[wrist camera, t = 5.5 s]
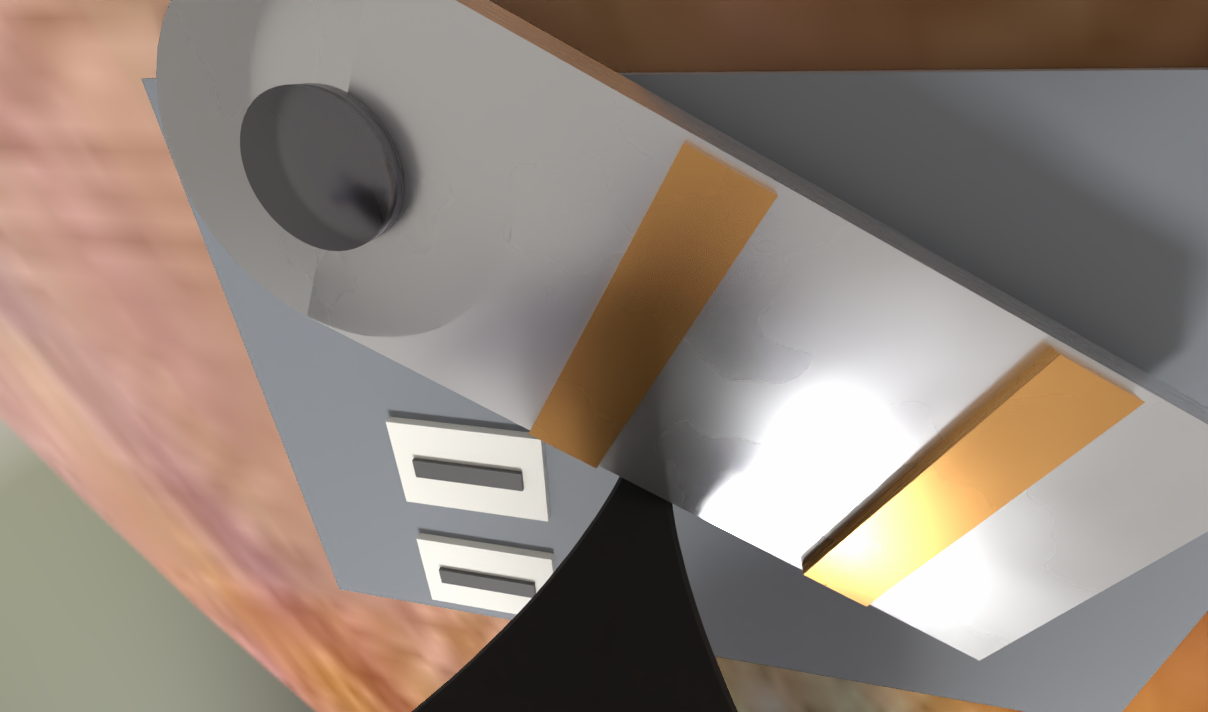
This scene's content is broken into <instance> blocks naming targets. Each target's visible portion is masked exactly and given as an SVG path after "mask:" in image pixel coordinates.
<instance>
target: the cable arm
mask: <svg viewBox="0 0 1208 712" xmlns="http://www.w3.org/2000/svg"><path fill="white" fill-rule="evenodd" d="M156 79H157V95H158V103H159V109H160V115H161V121H162V126H163V129H164V133H165V137H166V140H167V144H168V147H169V151H170V153H171V156H172V159H173V161H174V164H175V167H176V169H177V172H178V174H179V177H180V179H181V181H182V183H183V185H184V187H185V189H186V191H187V193H188V195H189V197H190V199H191V201H192V202H193V204H194V206H195V207H196V209H197V211H198V212H199V214H200V216H201V217H202V219H203V221H204V222H205V223H206V225H207V226H208V228H209V229H210V230H211V232H212V233H213V235H214V236H215V237H216V239H217V240H218V242H219V243H220V244H221V245H222V246H223V247H224V249H225V250H226V251H227V252H228V253H229V254H230V256H231V257H232V258H233V259H234V260H235V261H236V262H237V263H238V264H239V265H240V266H241V267H242V268H243V269H244V270H245V271H246V272H247V273H248V274H249V275H250V276H251V277H252V278H253V279H254V280H255V281H257V282H258V283H259V284H260V285H261V286H263V287H264V288H265V289H266V290H267V291H268V292H270V293H271V294H273V295H274V296H275V297H277V298H278V299H280V300H281V301H283V302H284V303H285V304H287V305H288V306H290V307H292V308H294V309H295V310H297V311H299V312H301V313H302V314H304V315H306V316H308V317H310V318H311V319H313V320H315V321H317V322H319V323H321V324H323V325H325V326H327V327H329V328H331V329H333V330H335V331H337V332H339V333H341V334H343V335H345V336H347V337H349V338H351V339H352V340H354V341H356V342H358V343H360V344H362V345H364V346H366V347H368V348H370V349H372V350H374V351H376V352H378V353H380V354H382V355H384V356H386V357H388V358H390V359H392V360H393V361H395V362H397V363H399V364H401V365H403V366H405V367H407V368H409V369H411V370H413V371H415V372H417V373H419V374H421V375H423V376H425V377H427V378H429V379H431V380H433V381H434V382H436V383H438V384H440V385H442V386H444V387H446V388H448V389H450V390H452V391H454V392H456V393H458V394H460V395H462V396H464V397H466V398H468V399H470V400H472V401H473V402H475V403H477V404H479V405H481V406H483V407H485V408H487V409H489V410H491V411H493V412H495V413H497V414H499V415H501V416H503V417H505V418H507V419H509V420H511V421H513V422H514V423H516V424H518V425H520V426H522V427H524V428H526V429H528V430H530V432H529V434H530V435H531V436H533V437H535V438H537V439H539V440H541V441H543V442H545V443H547V444H549V445H551V446H553V447H555V448H557V449H559V450H561V451H563V452H565V453H567V454H569V455H571V456H573V457H574V458H576V459H578V460H580V461H582V462H584V463H586V464H588V465H590V466H592V467H594V468H597V467H598V466H600V467H602V468H604V469H606V470H608V471H610V472H612V473H614V474H616V475H618V476H620V477H622V478H624V479H626V480H628V481H630V482H632V483H634V484H636V485H637V486H639V487H641V488H643V489H645V490H647V491H649V492H651V493H653V494H655V495H657V496H659V497H661V498H663V499H665V500H667V501H669V502H671V503H673V504H675V505H677V506H678V507H680V508H682V509H684V510H686V511H688V512H690V513H692V514H694V515H696V516H698V517H700V518H702V519H704V520H706V521H708V522H710V523H712V524H714V525H716V526H718V527H719V528H721V529H723V530H725V531H727V532H729V533H731V534H733V535H735V536H737V537H739V538H741V539H743V540H745V541H747V542H749V543H751V544H753V545H755V546H757V547H758V548H760V549H762V550H764V551H766V552H768V553H770V554H772V555H774V556H776V557H778V558H780V559H782V560H784V561H786V562H788V563H790V564H792V565H794V566H796V567H798V568H799V569H801V570H803V575H805V576H807V577H809V578H811V579H813V580H815V581H817V582H819V583H821V584H823V585H825V586H827V587H829V588H830V589H832V590H834V591H836V592H838V593H840V594H842V595H844V596H846V597H848V598H850V599H852V600H854V601H856V602H858V603H860V604H862V605H864V606H866V607H867V606H868V605H869V604H870V605H872V606H874V607H876V608H878V609H880V610H881V611H883V612H885V613H887V614H889V615H891V616H893V617H895V618H897V619H899V620H901V621H903V622H905V623H907V624H909V625H911V626H913V627H915V628H917V629H919V630H921V631H922V632H924V633H926V634H928V635H930V636H932V637H934V638H936V639H938V640H940V641H942V642H944V643H946V644H948V645H950V646H952V647H954V648H956V649H958V650H960V651H962V652H963V653H965V654H967V655H969V656H971V657H973V658H975V659H977V660H979V661H980V660H981V659H983V658H985V657H987V656H989V655H990V654H992V653H994V652H996V651H997V650H999V649H1001V648H1003V647H1004V646H1006V645H1008V644H1010V643H1011V642H1013V641H1015V640H1017V639H1019V638H1020V637H1022V636H1024V635H1026V634H1027V633H1029V632H1031V631H1033V630H1034V629H1036V628H1038V627H1040V626H1042V625H1043V624H1045V623H1047V622H1049V621H1050V620H1052V619H1054V618H1056V617H1057V616H1059V615H1061V614H1063V613H1065V612H1066V611H1068V610H1070V609H1072V608H1073V607H1075V606H1077V605H1079V604H1080V603H1082V602H1084V601H1086V600H1087V599H1089V598H1091V597H1093V596H1095V595H1096V594H1098V593H1100V592H1102V591H1103V590H1105V589H1107V588H1109V587H1110V586H1112V585H1114V584H1116V583H1118V582H1119V581H1121V580H1123V579H1125V578H1126V577H1128V576H1130V575H1132V574H1133V573H1135V572H1137V571H1139V570H1141V569H1142V568H1144V567H1146V566H1148V565H1149V564H1151V563H1153V562H1155V561H1156V560H1158V559H1160V558H1162V557H1163V556H1165V555H1167V554H1169V553H1171V552H1172V551H1174V550H1176V549H1178V548H1179V547H1181V546H1183V545H1185V544H1186V543H1188V542H1190V541H1192V540H1194V539H1195V538H1197V537H1199V536H1201V535H1202V534H1204V533H1206V532H1208V408H1207V407H1205V406H1204V405H1203V404H1201V403H1199V402H1197V401H1195V400H1194V399H1192V398H1190V397H1188V396H1187V395H1185V394H1183V393H1181V392H1180V391H1178V390H1176V389H1174V388H1173V387H1171V386H1169V385H1167V384H1165V383H1164V382H1162V381H1160V380H1158V379H1157V378H1155V377H1153V376H1151V375H1150V374H1148V373H1146V372H1144V371H1143V370H1141V369H1139V368H1137V367H1135V366H1134V365H1132V364H1130V363H1128V362H1127V361H1125V360H1123V359H1121V358H1120V357H1118V356H1116V355H1114V354H1113V353H1111V352H1109V351H1107V350H1105V349H1104V348H1102V347H1100V346H1098V345H1097V344H1095V343H1093V342H1091V341H1090V340H1088V339H1086V338H1084V337H1083V336H1081V335H1079V334H1077V333H1075V332H1074V331H1072V330H1070V329H1068V328H1067V327H1065V326H1063V325H1061V324H1060V323H1058V322H1056V321H1054V320H1052V319H1051V318H1049V317H1047V316H1045V315H1044V314H1042V313H1040V312H1038V311H1037V310H1035V309H1033V308H1031V307H1030V306H1028V305H1026V304H1024V303H1022V302H1021V301H1019V300H1017V299H1015V298H1014V297H1012V296H1010V295H1008V294H1007V293H1005V292H1003V291H1001V290H1000V289H998V288H996V287H994V286H992V285H991V284H989V283H987V282H985V281H984V280H982V279H980V278H978V277H977V276H975V275H973V274H971V273H970V272H968V271H966V270H964V269H962V268H961V267H959V266H957V265H955V264H954V263H952V262H950V261H948V260H947V259H945V258H943V257H941V256H940V255H938V254H936V253H934V252H932V251H931V250H929V249H927V248H925V247H924V246H922V245H920V244H918V243H917V242H915V241H913V240H911V239H910V238H908V237H906V236H904V235H902V234H901V233H899V232H897V231H895V230H894V229H892V228H890V227H888V226H887V225H885V224H883V223H881V222H880V221H878V220H876V219H874V218H872V217H871V216H869V215H867V214H865V213H864V212H862V211H860V210H858V209H857V208H855V207H853V206H851V205H850V204H848V203H846V202H844V201H842V200H841V199H839V198H837V197H835V196H834V195H832V194H830V193H828V192H827V191H825V190H823V189H821V188H820V187H818V186H816V185H814V184H812V183H811V182H809V181H807V180H805V179H804V178H802V177H800V176H798V175H797V174H795V173H793V172H791V171H790V170H788V169H786V168H784V167H782V166H781V165H779V164H777V163H775V162H774V161H772V160H770V159H768V158H767V157H765V156H763V155H761V154H760V153H758V152H756V151H754V150H752V149H751V148H749V147H747V146H745V145H744V144H742V143H740V142H738V141H737V140H735V139H733V138H731V137H730V136H728V135H726V134H724V133H722V132H721V131H719V130H717V129H715V128H714V127H712V126H710V125H708V124H707V123H705V122H703V121H701V120H700V119H698V118H696V117H694V116H692V115H691V114H689V113H687V112H685V111H684V110H682V109H680V108H678V107H677V106H675V105H673V104H671V103H670V102H668V101H666V100H664V99H662V98H661V97H659V96H657V95H655V94H654V93H652V92H650V91H648V90H647V89H645V88H643V87H641V86H640V85H638V84H636V83H634V82H632V81H631V80H629V79H627V78H625V77H624V76H622V75H620V74H618V73H617V72H615V71H613V70H611V69H610V68H608V67H606V66H604V65H602V64H601V63H599V62H597V61H595V60H594V59H592V58H590V57H588V56H587V55H585V54H583V53H581V52H580V51H578V50H576V49H574V48H572V47H571V46H569V45H567V44H565V43H564V42H562V41H560V40H558V39H557V38H555V37H553V36H551V35H550V34H548V33H546V32H544V31H542V30H541V29H539V28H537V27H535V26H534V25H532V24H530V23H528V22H527V21H525V20H523V19H521V18H520V17H518V16H516V15H514V14H512V13H511V12H509V11H507V10H505V9H504V8H502V7H500V6H498V5H497V4H495V3H493V2H491V1H490V0H171V1H170V4H169V6H168V9H167V12H166V15H165V18H164V20H163V23H162V28H161V33H160V38H159V44H158V51H157V68H156Z"/></svg>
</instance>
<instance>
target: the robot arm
mask: <svg viewBox="0 0 1208 712" xmlns="http://www.w3.org/2000/svg"><path fill="white" fill-rule="evenodd" d="M412 712H738V711H737V709H736V707H735V705H734V702H733V700H732V698H731V695H730V693H729V690H728V688H727V686H726V683H725V681H724V678H723V676H722V674H721V671H720V669H719V666H718V664H717V661H716V658H715V656H714V653H713V651H712V648H711V645H710V643H709V640H708V637H707V635H706V632H705V629H704V626H703V623H702V620H701V617H700V614H699V611H698V608H697V605H696V602H695V599H694V596H693V592H692V589H691V586H690V582H689V579H688V575H687V572H686V568H685V564H684V560H683V556H682V552H681V548H680V544H679V540H678V535H677V530H676V525H675V519H674V512H673V505H672V503H671V502H669V501H667V500H665V499H663V498H661V497H659V496H657V495H655V494H653V493H651V492H649V491H647V490H645V489H643V488H641V487H639V486H637V485H636V484H634V483H632V482H630V481H628V480H626V479H624V478H622V477H620V476H619V478H618V480H617V482H616V484H615V486H614V488H613V489H612V491H611V493H610V494H609V496H608V498H607V499H606V501H605V503H604V504H603V506H602V507H601V509H600V510H599V512H598V513H597V515H596V516H595V518H594V519H593V521H592V522H591V524H590V525H589V526H588V528H587V529H586V531H585V532H584V533H583V535H582V536H581V538H580V539H579V541H578V542H577V543H576V545H575V546H574V547H573V549H572V550H571V551H570V553H569V554H568V555H567V556H566V558H565V559H564V560H563V561H562V563H561V564H560V565H559V566H558V568H557V569H556V570H555V571H554V573H553V574H552V575H551V576H550V578H549V579H548V580H547V581H546V582H545V584H544V585H543V586H542V587H541V588H540V589H539V591H538V592H537V593H536V594H535V595H534V596H533V597H532V599H531V600H530V601H529V602H528V603H527V604H526V605H525V606H524V607H523V608H522V610H521V611H520V612H519V613H518V614H517V615H516V616H515V617H514V618H513V619H512V620H511V621H510V622H509V623H508V624H507V625H506V626H505V627H504V628H503V630H502V631H500V632H499V633H498V634H497V635H496V636H495V637H494V638H493V639H492V640H491V641H490V642H489V643H488V644H487V645H486V646H485V647H484V648H483V649H482V650H481V651H480V652H479V653H478V654H477V655H476V656H475V657H474V658H473V659H472V660H471V661H470V662H468V663H467V664H466V665H465V666H464V667H463V668H462V669H461V670H460V671H459V672H458V673H456V674H455V675H454V676H453V677H452V678H451V679H450V680H449V681H447V682H446V683H445V684H444V685H443V686H442V687H440V688H439V689H438V690H437V691H436V692H434V693H433V694H432V695H431V696H430V697H429V698H427V699H426V700H425V701H424V702H423V703H421V704H420V705H419V706H418V707H417V708H415V709H414V710H413V711H412Z"/></svg>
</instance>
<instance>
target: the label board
mask: <svg viewBox="0 0 1208 712" xmlns="http://www.w3.org/2000/svg"><path fill="white" fill-rule="evenodd" d="M618 74H620V75H622V76H624V77H625V78H627V79H629V80H631V81H632V82H634V83H636V84H638V85H640V86H641V87H643V88H645V89H647V90H648V91H650V92H652V93H654V94H655V95H657V96H659V97H661V98H662V99H664V100H666V101H668V102H670V103H671V104H673V105H675V106H677V107H678V108H680V109H682V110H684V111H685V112H687V113H689V114H691V115H692V116H694V117H696V118H698V119H700V120H701V121H703V122H705V123H707V124H708V125H710V126H712V127H714V128H715V129H717V130H719V131H721V132H722V133H724V134H726V135H728V136H730V137H731V138H733V139H735V140H737V141H738V142H740V143H742V144H744V145H745V146H747V147H749V148H751V149H752V150H754V151H756V152H758V153H760V154H761V155H763V156H765V157H767V158H768V159H770V160H772V161H774V162H775V163H777V164H779V165H781V166H782V167H784V168H786V169H788V170H790V171H791V172H793V173H795V174H797V175H798V176H800V177H802V178H804V179H805V180H807V181H809V182H811V183H812V184H814V185H816V186H818V187H820V188H821V189H823V190H825V191H827V192H828V193H830V194H832V195H834V196H835V197H837V198H839V199H841V200H842V201H844V202H846V203H848V204H850V205H851V206H853V207H855V208H857V209H858V210H860V211H862V212H864V213H865V214H867V215H869V216H871V217H872V218H874V219H876V220H878V221H880V222H881V223H883V224H885V225H887V226H888V227H890V228H892V229H894V230H895V231H897V232H899V233H901V234H902V235H904V236H906V237H908V238H910V239H911V240H913V241H915V242H917V243H918V244H920V245H922V246H924V247H925V248H927V249H929V250H931V251H932V252H934V253H936V254H938V255H940V256H941V257H943V258H945V259H947V260H948V261H950V262H952V263H954V264H955V265H957V266H959V267H961V268H962V269H964V270H966V271H968V272H970V273H971V274H973V275H975V276H977V277H978V278H980V279H982V280H984V281H985V282H987V283H989V284H991V285H992V286H994V287H996V288H998V289H1000V290H1001V291H1003V292H1005V293H1007V294H1008V295H1010V296H1012V297H1014V298H1015V299H1017V300H1019V301H1021V302H1022V303H1024V304H1026V305H1028V306H1030V307H1031V308H1033V309H1035V310H1037V311H1038V312H1040V313H1042V314H1044V315H1045V316H1047V317H1049V318H1051V319H1052V320H1054V321H1056V322H1058V323H1060V324H1061V325H1063V326H1065V327H1067V328H1068V329H1070V330H1072V331H1074V332H1075V333H1077V334H1079V335H1081V336H1083V337H1084V338H1086V339H1088V340H1090V341H1091V342H1093V343H1095V344H1097V345H1098V346H1100V347H1102V348H1104V349H1105V350H1107V351H1109V352H1111V353H1113V354H1114V355H1116V356H1118V357H1120V358H1121V359H1123V360H1125V361H1127V362H1128V363H1130V364H1132V365H1134V366H1135V367H1137V368H1139V369H1141V370H1143V371H1144V372H1146V373H1148V374H1150V375H1151V376H1153V377H1155V378H1157V379H1158V380H1160V381H1162V382H1164V383H1165V384H1167V385H1169V386H1171V387H1173V388H1174V389H1176V390H1178V391H1180V392H1181V393H1183V394H1185V395H1187V396H1188V397H1190V398H1192V399H1194V400H1195V401H1197V402H1199V403H1201V404H1203V405H1204V406H1205V407H1207V408H1208V67H1193V68H1081V69H969V70H857V71H746V72H634V73H618ZM142 82H143V84H144V87H145V90H146V92H147V95H148V97H149V100H150V103H151V105H152V108H153V110H154V113H155V115H156V118H157V121H158V123H159V126H160V128H161V131H162V133H163V136H164V139H165V141H166V144H167V140H166V137H165V133H164V129H163V126H162V121H161V115H160V109H159V103H158V95H157V79H156V78H143V79H142ZM167 146H168V144H167ZM168 149H169V147H168ZM170 154H171V153H170ZM171 157H172V156H171ZM173 162H174V161H173ZM178 175H179V174H178ZM180 180H181V179H180ZM181 182H182V181H181ZM182 185H183V183H182ZM183 188H184V190H185V193H186V195H187V198H188V200H189V203H190V206H191V208H192V211H193V213H194V216H195V218H196V221H197V224H198V226H199V229H200V231H201V234H202V236H203V239H204V242H205V244H206V247H207V249H208V252H209V255H210V257H211V260H212V262H213V265H214V267H215V270H216V273H217V275H218V278H219V280H220V283H221V285H222V288H223V291H224V293H225V296H226V298H227V301H228V303H229V306H230V309H231V311H232V314H233V316H234V319H235V322H236V324H237V327H238V329H239V332H240V334H241V337H242V340H243V342H244V345H245V347H246V350H247V352H248V355H249V358H250V360H251V363H252V365H253V368H254V370H255V373H256V376H257V378H258V381H259V383H260V386H261V389H262V391H263V394H264V396H265V399H266V401H267V404H268V407H269V409H270V412H271V414H272V417H273V419H274V422H275V425H276V427H277V430H278V432H279V435H280V437H281V440H282V443H283V445H284V448H285V450H286V453H287V456H288V458H289V461H290V463H291V466H292V468H293V471H294V474H295V476H296V479H297V481H298V484H299V486H300V489H301V492H302V494H303V497H304V499H305V502H306V504H307V507H308V510H309V512H310V515H311V517H312V520H313V523H314V525H315V528H316V530H317V533H318V535H319V538H320V541H321V543H322V546H323V548H324V551H325V553H326V556H327V559H328V561H329V564H330V566H331V569H332V571H333V574H334V577H335V579H336V582H337V584H338V587H339V589H341V590H347V591H352V592H358V593H364V594H369V595H375V596H380V597H386V598H392V599H397V600H403V601H408V602H414V603H420V604H425V605H431V606H436V607H442V608H448V609H453V610H459V611H464V612H470V613H476V614H481V615H487V616H492V617H498V618H504V619H509V620H512V619H513V618H514V617H515V616H516V615H517V614H518V613H519V612H520V611H521V610H522V608H523V607H524V606H525V605H526V604H527V603H528V602H529V601H530V600H531V599H532V597H533V596H534V595H535V594H536V593H537V592H538V591H539V589H540V588H541V587H542V586H543V585H544V584H545V582H546V581H547V580H548V579H549V578H550V576H551V575H552V574H553V573H554V571H555V570H556V569H557V568H558V566H559V565H560V564H561V563H562V561H563V560H564V559H565V558H566V556H567V555H568V554H569V553H570V551H571V550H572V549H573V547H574V546H575V545H576V543H577V542H578V541H579V539H580V538H581V536H582V535H583V533H584V532H585V531H586V529H587V528H588V526H589V525H590V524H591V522H592V521H593V519H594V518H595V516H596V515H597V513H598V512H599V510H600V509H601V507H602V506H603V504H604V503H605V501H606V499H607V498H608V496H609V494H610V493H611V491H612V489H613V488H614V486H615V484H616V482H617V480H618V478H619V476H618V475H616V474H614V473H612V472H610V471H608V470H606V469H604V468H602V467H600V466H598V467H597V468H594V467H592V466H590V465H588V464H586V463H584V462H582V461H580V460H578V459H576V458H574V457H573V456H571V455H569V454H567V453H565V452H563V451H561V450H559V449H557V448H555V447H553V446H551V445H549V444H547V443H545V442H543V441H541V440H539V439H537V438H535V437H533V436H531V435H530V434H529V432H530V430H528V429H526V428H524V427H522V426H520V425H518V424H516V423H514V422H513V421H511V420H509V419H507V418H505V417H503V416H501V415H499V414H497V413H495V412H493V411H491V410H489V409H487V408H485V407H483V406H481V405H479V404H477V403H475V402H473V401H472V400H470V399H468V398H466V397H464V396H462V395H460V394H458V393H456V392H454V391H452V390H450V389H448V388H446V387H444V386H442V385H440V384H438V383H436V382H434V381H433V380H431V379H429V378H427V377H425V376H423V375H421V374H419V373H417V372H415V371H413V370H411V369H409V368H407V367H405V366H403V365H401V364H399V363H397V362H395V361H393V360H392V359H390V358H388V357H386V356H384V355H382V354H380V353H378V352H376V351H374V350H372V349H370V348H368V347H366V346H364V345H362V344H360V343H358V342H356V341H354V340H352V339H351V338H349V337H347V336H345V335H343V334H341V333H339V332H337V331H335V330H333V329H331V328H329V327H327V326H325V325H323V324H321V323H319V322H317V321H315V320H313V319H311V318H310V317H308V316H306V315H304V314H302V313H301V312H299V311H297V310H295V309H294V308H292V307H290V306H288V305H287V304H285V303H284V302H283V301H281V300H280V299H278V298H277V297H275V296H274V295H273V294H271V293H270V292H268V291H267V290H266V289H265V288H264V287H263V286H261V285H260V284H259V283H258V282H257V281H255V280H254V279H253V278H252V277H251V276H250V275H249V274H248V273H247V272H246V271H245V270H244V269H243V268H242V267H241V266H240V265H239V264H238V263H237V262H236V261H235V260H234V259H233V258H232V257H231V256H230V254H229V253H228V252H227V251H226V250H225V249H224V247H223V246H222V245H221V244H220V243H219V242H218V240H217V239H216V237H215V236H214V235H213V233H212V232H211V230H210V229H209V228H208V226H207V225H206V223H205V222H204V221H203V219H202V217H201V216H200V214H199V212H198V211H197V209H196V207H195V206H194V204H193V202H192V201H191V199H190V197H189V195H188V193H187V191H186V189H185V187H184V185H183ZM672 505H673V512H674V519H675V525H676V530H677V535H678V540H679V544H680V548H681V552H682V556H683V560H684V564H685V568H686V572H687V575H688V579H689V582H690V586H691V589H692V592H693V596H694V599H695V602H696V605H697V608H698V611H699V614H700V617H701V620H702V623H703V626H704V629H705V632H706V635H707V637H708V640H709V643H710V645H711V648H712V651H713V653H714V656H716V657H722V658H728V659H733V660H739V661H744V662H750V663H756V664H761V665H767V666H772V667H778V668H784V669H789V670H795V671H800V672H806V673H812V674H817V675H823V676H828V677H834V678H840V679H845V680H851V681H856V682H862V683H868V684H873V685H879V686H884V687H890V688H896V689H901V690H907V691H912V692H918V693H924V694H929V695H935V696H940V697H946V698H952V699H957V700H963V701H968V702H974V703H980V704H985V705H991V706H996V707H1002V708H1008V709H1013V710H1019V711H1024V712H1122V711H1123V710H1124V709H1125V708H1126V707H1127V705H1128V704H1129V703H1130V702H1131V701H1132V699H1133V698H1134V697H1135V696H1136V695H1137V694H1138V692H1139V691H1140V690H1141V689H1142V688H1143V686H1144V685H1145V684H1146V683H1147V682H1148V681H1149V679H1150V678H1151V677H1152V676H1153V675H1154V673H1155V672H1156V671H1157V670H1158V669H1159V668H1160V666H1161V665H1162V664H1163V663H1164V662H1165V660H1166V659H1167V658H1168V657H1169V656H1170V655H1171V653H1172V652H1173V651H1174V650H1175V649H1176V647H1177V646H1178V645H1179V644H1180V643H1181V642H1182V640H1183V639H1184V638H1185V637H1186V636H1187V634H1188V633H1189V632H1190V631H1191V630H1192V629H1193V627H1194V626H1195V625H1196V624H1197V623H1198V621H1199V620H1200V619H1201V618H1202V617H1203V616H1204V614H1205V613H1206V612H1207V611H1208V532H1206V533H1204V534H1202V535H1201V536H1199V537H1197V538H1195V539H1194V540H1192V541H1190V542H1188V543H1186V544H1185V545H1183V546H1181V547H1179V548H1178V549H1176V550H1174V551H1172V552H1171V553H1169V554H1167V555H1165V556H1163V557H1162V558H1160V559H1158V560H1156V561H1155V562H1153V563H1151V564H1149V565H1148V566H1146V567H1144V568H1142V569H1141V570H1139V571H1137V572H1135V573H1133V574H1132V575H1130V576H1128V577H1126V578H1125V579H1123V580H1121V581H1119V582H1118V583H1116V584H1114V585H1112V586H1110V587H1109V588H1107V589H1105V590H1103V591H1102V592H1100V593H1098V594H1096V595H1095V596H1093V597H1091V598H1089V599H1087V600H1086V601H1084V602H1082V603H1080V604H1079V605H1077V606H1075V607H1073V608H1072V609H1070V610H1068V611H1066V612H1065V613H1063V614H1061V615H1059V616H1057V617H1056V618H1054V619H1052V620H1050V621H1049V622H1047V623H1045V624H1043V625H1042V626H1040V627H1038V628H1036V629H1034V630H1033V631H1031V632H1029V633H1027V634H1026V635H1024V636H1022V637H1020V638H1019V639H1017V640H1015V641H1013V642H1011V643H1010V644H1008V645H1006V646H1004V647H1003V648H1001V649H999V650H997V651H996V652H994V653H992V654H990V655H989V656H987V657H985V658H983V659H981V660H980V661H979V660H977V659H975V658H973V657H971V656H969V655H967V654H965V653H963V652H962V651H960V650H958V649H956V648H954V647H952V646H950V645H948V644H946V643H944V642H942V641H940V640H938V639H936V638H934V637H932V636H930V635H928V634H926V633H924V632H922V631H921V630H919V629H917V628H915V627H913V626H911V625H909V624H907V623H905V622H903V621H901V620H899V619H897V618H895V617H893V616H891V615H889V614H887V613H885V612H883V611H881V610H880V609H878V608H876V607H874V606H872V605H870V604H869V605H868V606H867V607H866V606H864V605H862V604H860V603H858V602H856V601H854V600H852V599H850V598H848V597H846V596H844V595H842V594H840V593H838V592H836V591H834V590H832V589H830V588H829V587H827V586H825V585H823V584H821V583H819V582H817V581H815V580H813V579H811V578H809V577H807V576H805V575H803V570H801V569H799V568H798V567H796V566H794V565H792V564H790V563H788V562H786V561H784V560H782V559H780V558H778V557H776V556H774V555H772V554H770V553H768V552H766V551H764V550H762V549H760V548H758V547H757V546H755V545H753V544H751V543H749V542H747V541H745V540H743V539H741V538H739V537H737V536H735V535H733V534H731V533H729V532H727V531H725V530H723V529H721V528H719V527H718V526H716V525H714V524H712V523H710V522H708V521H706V520H704V519H702V518H700V517H698V516H696V515H694V514H692V513H690V512H688V511H686V510H684V509H682V508H680V507H678V506H677V505H675V504H673V503H672Z"/></svg>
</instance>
